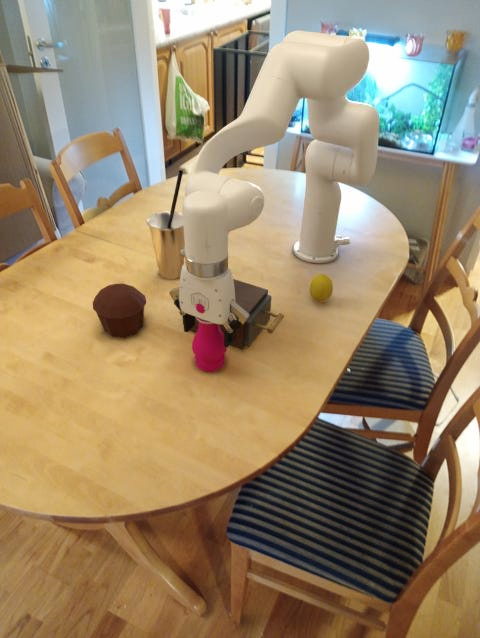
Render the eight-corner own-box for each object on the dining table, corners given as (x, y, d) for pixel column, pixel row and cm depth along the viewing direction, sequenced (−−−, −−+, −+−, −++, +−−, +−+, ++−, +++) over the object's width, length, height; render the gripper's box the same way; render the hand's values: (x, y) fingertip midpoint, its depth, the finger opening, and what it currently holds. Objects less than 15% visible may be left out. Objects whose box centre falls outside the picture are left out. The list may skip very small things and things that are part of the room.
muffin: (158, 318, 110) (154, 283, 104) (131, 347, 102) (125, 311, 96) (116, 305, 114) (110, 270, 107) (87, 332, 106) (78, 296, 99)
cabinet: (266, 319, 110) (268, 289, 105) (242, 350, 102) (243, 319, 96) (215, 302, 115) (215, 273, 110) (188, 330, 107) (186, 300, 101)
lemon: (332, 297, 117) (336, 270, 112) (327, 310, 113) (332, 283, 108) (310, 293, 119) (314, 266, 114) (305, 305, 115) (309, 278, 110)
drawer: (287, 325, 107) (289, 301, 103) (266, 354, 100) (268, 329, 96) (222, 303, 113) (222, 280, 109) (198, 329, 106) (197, 305, 101)
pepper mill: (192, 350, 102) (187, 272, 89) (226, 349, 102) (226, 271, 90) (192, 374, 96) (187, 295, 83) (228, 373, 96) (228, 293, 84)
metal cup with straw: (189, 287, 120) (182, 171, 101) (146, 282, 121) (132, 167, 103) (198, 265, 128) (194, 154, 110) (158, 260, 130) (147, 151, 111)
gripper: (154, 259, 84) (162, 332, 95) (240, 286, 78) (238, 361, 89) (177, 240, 89) (183, 312, 100) (260, 265, 83) (256, 338, 94)
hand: (209, 335), depth 94 cm, fingers open, 8 cm apart
